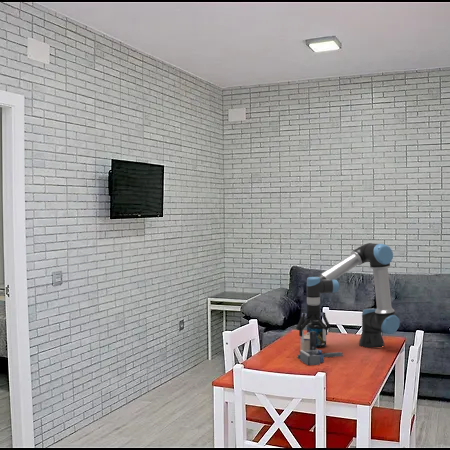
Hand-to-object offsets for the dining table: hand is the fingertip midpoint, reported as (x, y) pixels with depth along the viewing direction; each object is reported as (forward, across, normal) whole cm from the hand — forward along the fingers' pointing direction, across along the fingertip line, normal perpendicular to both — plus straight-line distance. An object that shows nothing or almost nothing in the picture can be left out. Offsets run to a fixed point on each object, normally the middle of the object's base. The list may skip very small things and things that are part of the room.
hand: (313, 341), depth 344 cm
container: (+10, -14, -27) cm, 32 cm away
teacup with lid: (+10, -3, -14) cm, 17 cm away
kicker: (+9, 0, +5) cm, 10 cm away
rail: (+9, -4, 0) cm, 10 cm away
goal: (+9, +6, +10) cm, 15 cm away
